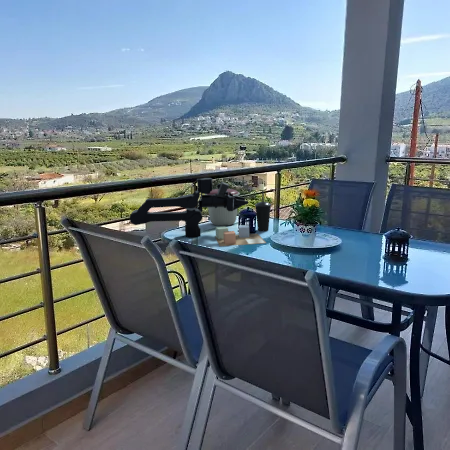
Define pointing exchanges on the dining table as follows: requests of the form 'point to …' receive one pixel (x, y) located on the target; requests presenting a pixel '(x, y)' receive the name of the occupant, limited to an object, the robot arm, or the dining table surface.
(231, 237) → the terracotta block
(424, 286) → the dining table surface
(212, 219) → the canister
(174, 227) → the dining table surface
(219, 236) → the sage block
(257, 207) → the drinking cup
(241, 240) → the board
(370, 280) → the dining table surface
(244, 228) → the slate block
